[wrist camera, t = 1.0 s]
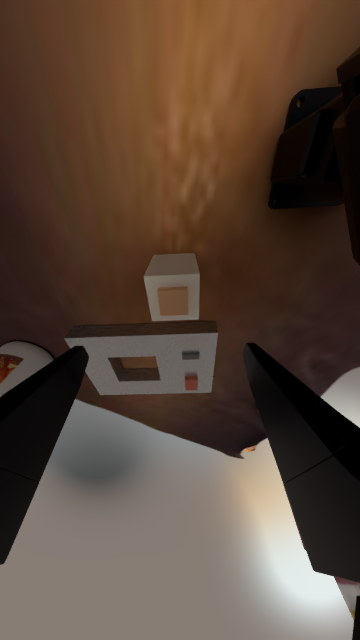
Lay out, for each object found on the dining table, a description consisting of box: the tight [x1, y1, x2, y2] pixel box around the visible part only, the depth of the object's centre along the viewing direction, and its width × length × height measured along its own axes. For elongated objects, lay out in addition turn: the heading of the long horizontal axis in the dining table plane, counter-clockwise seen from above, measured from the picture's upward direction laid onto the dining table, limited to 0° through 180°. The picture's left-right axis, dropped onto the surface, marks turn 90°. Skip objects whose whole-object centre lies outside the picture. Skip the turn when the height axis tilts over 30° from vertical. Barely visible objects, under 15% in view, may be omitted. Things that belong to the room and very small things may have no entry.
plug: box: [143, 253, 200, 321], centre depth 16 cm, size 4×4×7 cm
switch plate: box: [64, 321, 218, 395], centre depth 26 cm, size 20×14×3 cm
